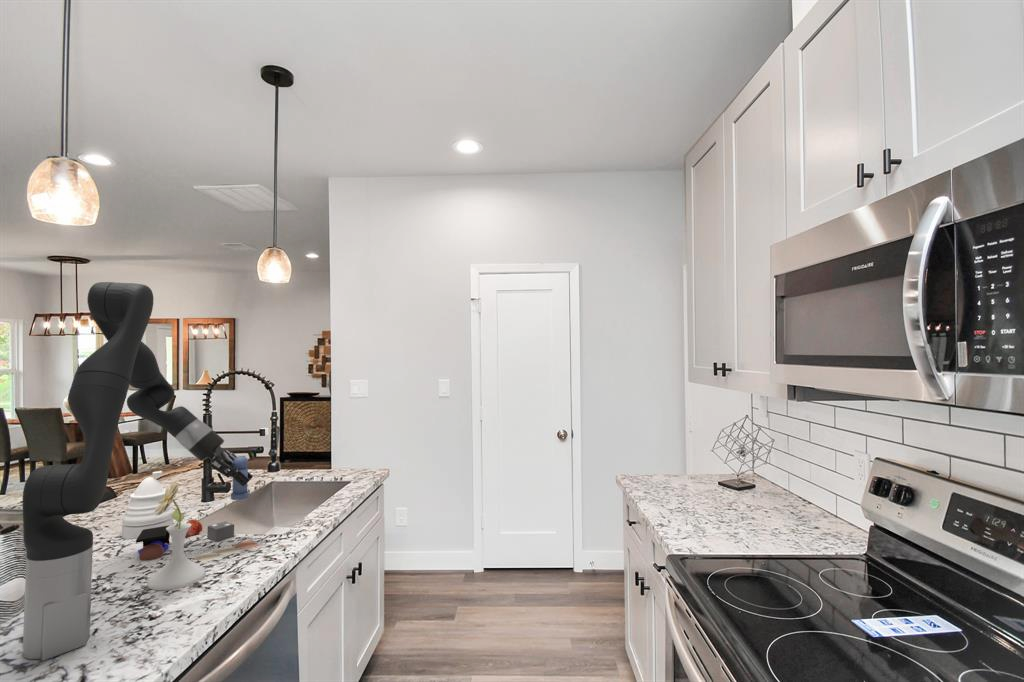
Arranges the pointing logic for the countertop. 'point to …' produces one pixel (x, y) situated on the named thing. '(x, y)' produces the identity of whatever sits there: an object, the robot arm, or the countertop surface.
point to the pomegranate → (194, 528)
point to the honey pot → (145, 508)
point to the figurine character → (153, 542)
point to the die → (220, 531)
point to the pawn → (238, 489)
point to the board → (225, 551)
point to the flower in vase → (175, 551)
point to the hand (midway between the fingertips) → (248, 481)
